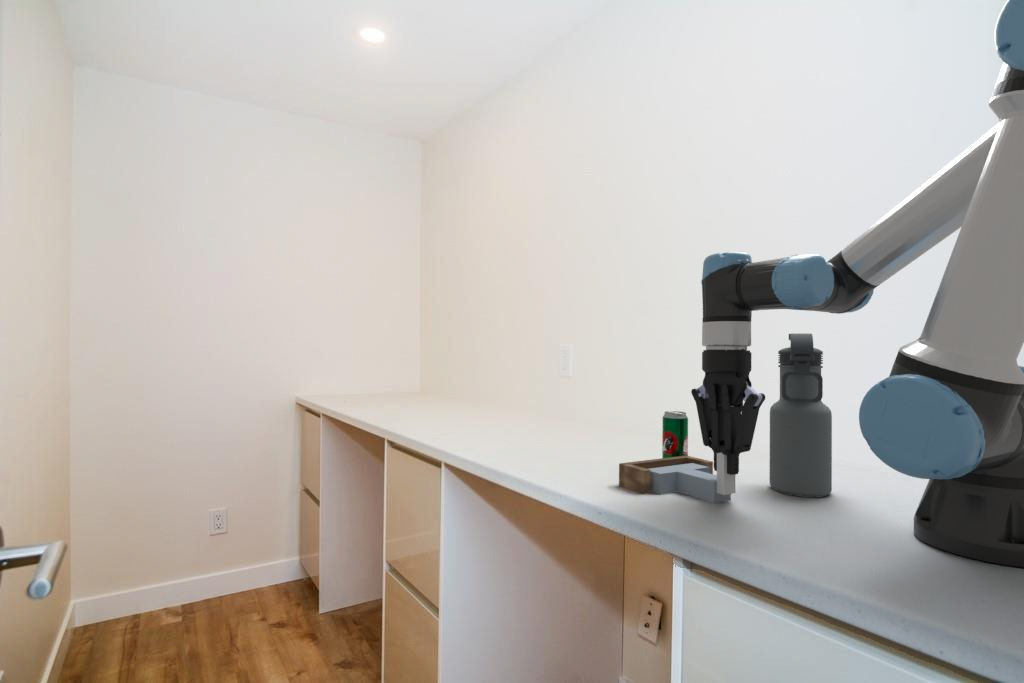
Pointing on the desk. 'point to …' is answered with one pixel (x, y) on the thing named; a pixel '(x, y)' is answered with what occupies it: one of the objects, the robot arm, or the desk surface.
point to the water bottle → (801, 424)
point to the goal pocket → (639, 473)
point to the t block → (686, 482)
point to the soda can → (675, 434)
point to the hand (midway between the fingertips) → (726, 492)
